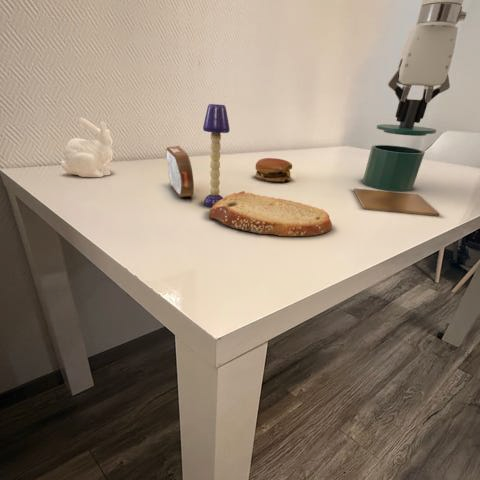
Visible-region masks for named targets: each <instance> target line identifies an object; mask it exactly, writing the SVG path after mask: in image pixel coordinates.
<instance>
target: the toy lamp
mask: <svg viewBox="0 0 480 480" xmlns="http://www.w3.org/2000/svg"><path fill="white" fill-rule="evenodd" d="M230 129H231V128H230V123H229V118H228V112H227V107H226V105H225V104H216V103H209V104H208V105H207V109H206V112H205V117H204V121H203V126H202V130H203V131H204V132H207V133H210V140H211V142H210V150H211V152H210V166H209V167H210V171H209V172H210V175H209V176H210V182H209V183H210V189H209V191H210V194H208V195H207V196H205V198H204V199H203V205H204V206H205V207H207V208H212V206H213V205H214V204H215V203H216V202H218V201H219V200H221V199H223V198H224V197H223V196H222V195H220V184H221V183H220V176H221V173H220V168H221V162H220V158H221V152H220V151H221V139H222V135H221V134H229V133H230Z"/></svg>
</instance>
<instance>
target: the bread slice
mask: <svg viewBox="0 0 480 480" xmlns="http://www.w3.org/2000/svg"><path fill="white" fill-rule="evenodd" d="M208 217H209V218H210V219H212V220H213V219H214V220H217V221H219V222H221V223H222V224H223V225H225V226H227V227H230V228H232V229H236V230H242V231H245V232H249V233H256V234H260V235H274V236H279V237H311V236H317V235H322V234H325V233H328V232H330V230H332V229H333V224H332V221H331V219H330V215H329V213H328V212H327V211H326V210H325V209H323V208H319V207H315V206H312V205H309V204H305V203H304V204H303V203H302V202H299V201H292V200H289V199H288V200H287V199H283V198H278V197H277V198H276V197H273V196H272V197H271V196H266V195H261V194H255V193H252V192H246V191H245V190H241V191H239V192H234V193H232V194H229V195H226V196H224V197H223V199H221V200H219V201H218V202H216V203H215V204H214V205H213V206H212V207H210V209H209V212H208Z"/></svg>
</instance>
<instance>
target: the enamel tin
mask: <svg viewBox="0 0 480 480" xmlns="http://www.w3.org/2000/svg"><path fill="white" fill-rule="evenodd" d="M425 154H426V152H425V151H424V150H421V149H418V148H413V147H407V146H400V145H391V144H390V145H389V144H374V145H371V148H370V152H369V155H368V160H367V163H366V167H365V172H364V174H363V179H362V183H363V184H364V185H366V186H368V187H371V188H374V189H377V190H382V191H389V192H408V191H411V190H413V188H414V185H415V182H416V180H417V177H418V175H419V172H420V168H421V165H422V162H423V159H424V157H425Z"/></svg>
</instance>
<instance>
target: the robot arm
mask: <svg viewBox="0 0 480 480" xmlns="http://www.w3.org/2000/svg"><path fill="white" fill-rule="evenodd" d="M421 2H422V3H421V6H420V9H419V13H418V17H417V20H416V25H415V26H412V27H411V28H410V31H409V32H408V34H407V37H406V39H405V43H404V45H403V49H402V52H401V55H400V58H399V61H398V65H397V68H396V71H395V73H394V74H393V75H392V77H391V78H390V79H389V81H388V82H387V84H386V86H387V87H388V88H389V89H390V90H391V91H392V92H394V94H395V95H396V98H397V99H398V105H397V108H396V112H395V118H396V122H399V123H400V122H402V121H403V119H404V115H405V111H406V108H407V104H408V102H407V99H408V96H409V93H410V91H411V89H412V86H423V90H422V95H421V98H420V100H421V104H420V107H419V110H418V114H417V117H416V120H415V123H416V124H420V123H421V120H423V118H424V117H425V113H426V110H427V107H428V103H430V102H431V101H432V100H433V99H434V98H435V97H437V96H438V95H439V94H442V93H444V92H446V91H447V90H449V89H450V88H451V85H450V84H451V83H450V77H449V71H450V68H451V64H452V60H453V56H454V52H455V48H456V43H457V36H458V29H459V27H458V26H457V24H458V22H463V21H465V19H466V17H467V11H463V2H464V0H422V1H421ZM400 85H402V87H401V86H400ZM435 87H436V88H435Z"/></svg>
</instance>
